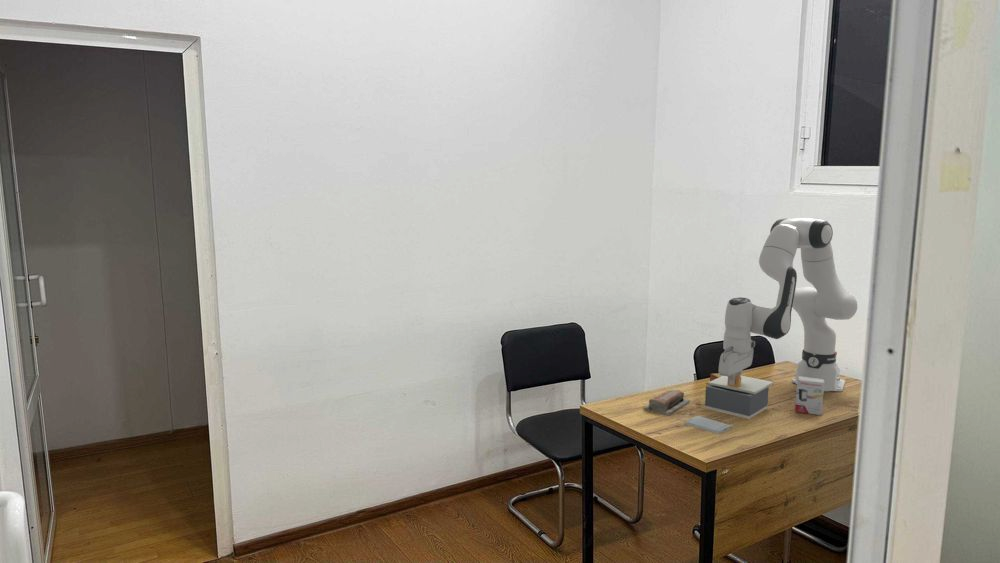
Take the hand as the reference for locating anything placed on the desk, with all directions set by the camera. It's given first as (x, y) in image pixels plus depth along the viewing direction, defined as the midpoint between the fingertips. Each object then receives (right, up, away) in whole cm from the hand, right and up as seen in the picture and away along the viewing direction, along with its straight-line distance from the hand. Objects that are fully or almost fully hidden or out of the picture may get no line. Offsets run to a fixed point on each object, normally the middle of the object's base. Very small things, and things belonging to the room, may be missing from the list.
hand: (734, 383), depth 237 cm
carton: (+8, -7, +28) cm, 30 cm away
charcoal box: (+2, -9, +4) cm, 10 cm away
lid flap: (+4, -1, +5) cm, 6 cm away
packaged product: (-22, -10, +5) cm, 25 cm away
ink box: (+26, -10, +1) cm, 28 cm away
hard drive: (-14, -13, -14) cm, 24 cm away
